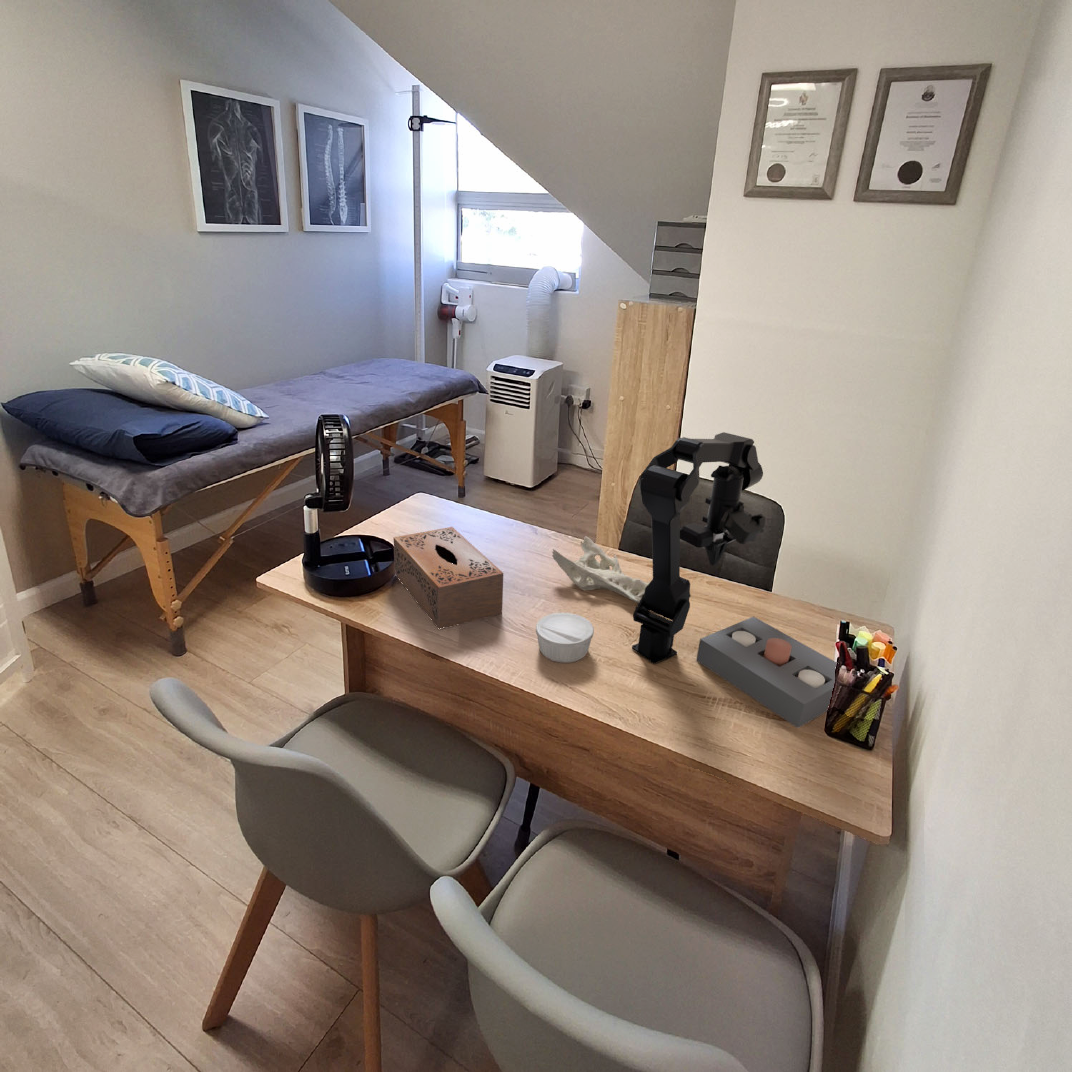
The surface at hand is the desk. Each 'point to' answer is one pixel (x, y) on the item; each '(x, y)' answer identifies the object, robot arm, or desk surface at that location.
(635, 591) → the skull
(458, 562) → the tissue box cover
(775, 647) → the knob middle
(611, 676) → the desk surface
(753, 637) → the knob
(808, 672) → the knob
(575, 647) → the ramekin
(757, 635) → the housing
